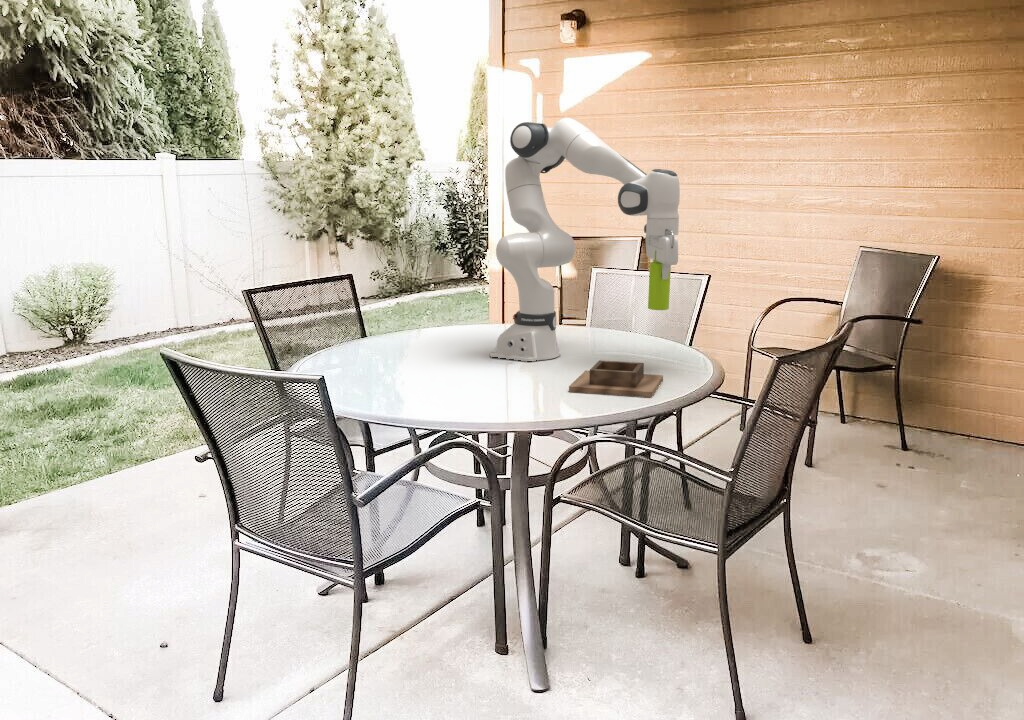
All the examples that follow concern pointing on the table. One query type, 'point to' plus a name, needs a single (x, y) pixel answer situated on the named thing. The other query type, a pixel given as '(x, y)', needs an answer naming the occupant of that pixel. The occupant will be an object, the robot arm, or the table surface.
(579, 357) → the table surface
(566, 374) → the table surface
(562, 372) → the table surface
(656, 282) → the soap dispenser
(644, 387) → the caddy
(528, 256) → the robot arm
